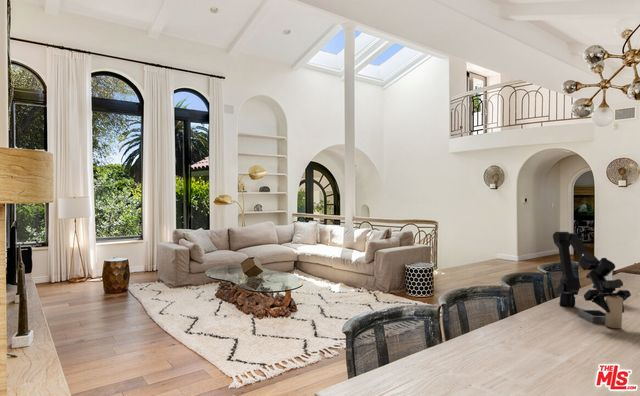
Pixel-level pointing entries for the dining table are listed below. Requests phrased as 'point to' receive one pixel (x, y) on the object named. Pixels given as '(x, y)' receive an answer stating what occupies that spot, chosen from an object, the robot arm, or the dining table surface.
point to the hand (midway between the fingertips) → (616, 312)
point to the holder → (593, 315)
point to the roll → (614, 311)
